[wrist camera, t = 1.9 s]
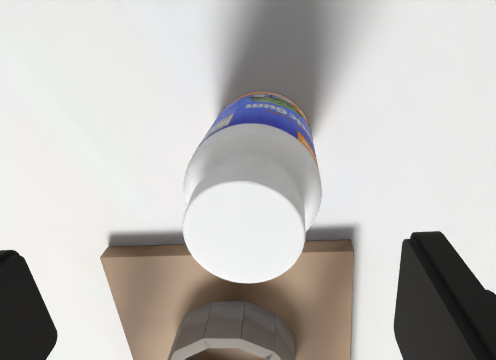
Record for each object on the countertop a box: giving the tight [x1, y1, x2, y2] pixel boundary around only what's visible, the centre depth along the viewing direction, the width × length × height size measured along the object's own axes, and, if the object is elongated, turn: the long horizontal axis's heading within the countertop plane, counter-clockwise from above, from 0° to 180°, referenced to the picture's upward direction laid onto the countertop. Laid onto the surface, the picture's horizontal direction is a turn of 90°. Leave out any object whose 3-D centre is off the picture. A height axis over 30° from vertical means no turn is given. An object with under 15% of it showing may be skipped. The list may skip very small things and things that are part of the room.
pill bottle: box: [183, 91, 322, 283], centre depth 16 cm, size 5×5×10 cm
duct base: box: [100, 240, 354, 360], centre depth 25 cm, size 16×16×4 cm
